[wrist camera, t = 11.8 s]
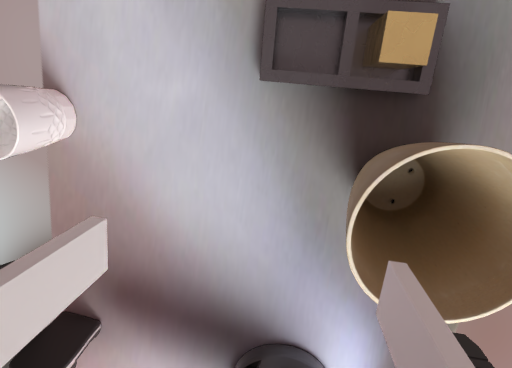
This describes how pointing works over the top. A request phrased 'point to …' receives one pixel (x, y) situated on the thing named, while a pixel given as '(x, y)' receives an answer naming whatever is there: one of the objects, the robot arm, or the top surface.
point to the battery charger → (58, 343)
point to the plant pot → (436, 225)
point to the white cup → (33, 119)
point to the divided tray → (339, 44)
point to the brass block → (400, 40)
